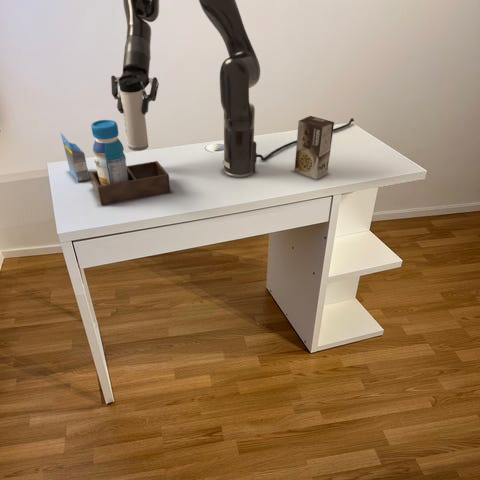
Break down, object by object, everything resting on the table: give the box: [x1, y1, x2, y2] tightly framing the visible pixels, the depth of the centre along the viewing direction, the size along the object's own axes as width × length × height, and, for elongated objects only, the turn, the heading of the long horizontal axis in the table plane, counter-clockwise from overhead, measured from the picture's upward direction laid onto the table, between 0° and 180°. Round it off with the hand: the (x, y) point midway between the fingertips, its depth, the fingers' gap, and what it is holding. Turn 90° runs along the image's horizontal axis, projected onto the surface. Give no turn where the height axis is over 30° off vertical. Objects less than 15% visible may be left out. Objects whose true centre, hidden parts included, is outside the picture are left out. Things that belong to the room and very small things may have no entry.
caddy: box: [89, 160, 171, 206], centre depth 134 cm, size 20×11×6 cm, turn 115°
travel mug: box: [118, 74, 149, 152], centre depth 137 cm, size 6×7×20 cm
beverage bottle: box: [91, 119, 128, 186], centre depth 128 cm, size 8×8×20 cm
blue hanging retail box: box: [60, 133, 90, 183], centre depth 140 cm, size 9×4×12 cm, turn 32°
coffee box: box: [294, 115, 335, 180], centre depth 143 cm, size 9×6×16 cm
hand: (132, 112), depth 135 cm, fingers closed on travel mug, 6 cm apart
